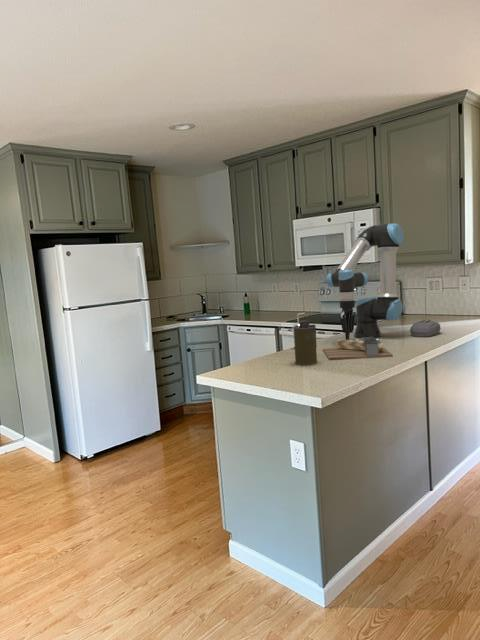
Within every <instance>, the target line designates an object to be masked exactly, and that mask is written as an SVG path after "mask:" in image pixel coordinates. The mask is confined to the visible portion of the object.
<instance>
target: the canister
mask: <svg viewBox="0 0 480 640" xmlns="http://www.w3.org/2000/svg"><path fill="white" fill-rule="evenodd" d="M297 323H299V324H300V325H299V326H294V325H293V326H294V327H293V326H292V329H293V328H294V335H293V341H294V342H293V343H294V359H295V360H294V361H295V362H294V364H295V365H299V366H314V365H317V363H318V359H317V329H316V327H317V325H316V324H312V323H311V324H310V321H309V320H299V322H298V321H297Z"/></svg>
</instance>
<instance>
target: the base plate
mask: <svg viewBox="0 0 480 640" xmlns="http://www.w3.org/2000/svg"><path fill="white" fill-rule="evenodd" d="M322 352H323V353H324V355H325V356H326V358H327V359H328V361H339V360H355V359H372V358H373V359H374V358H375V359H376V358H393V357H394V356H393V354H392V352H390V351H388V350H387V349H386V348H385V347H383V351H382V352H379V355H372V356H367V355H366V354H365V350H354V349H342V348H337V347H328V348H322Z"/></svg>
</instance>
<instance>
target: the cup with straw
mask: <svg viewBox="0 0 480 640" xmlns="http://www.w3.org/2000/svg"><path fill="white" fill-rule="evenodd" d="M305 314H307V313H306V312H299V313H297V314H296V315H297V322H296V323H295V324H294V325H292V328H291V330H290V331H291V332H292V335H293V336H294V328H293V327H294V326H299V325H300V324H299V323H298V322H299V321H300V319H299V315H305Z"/></svg>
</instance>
